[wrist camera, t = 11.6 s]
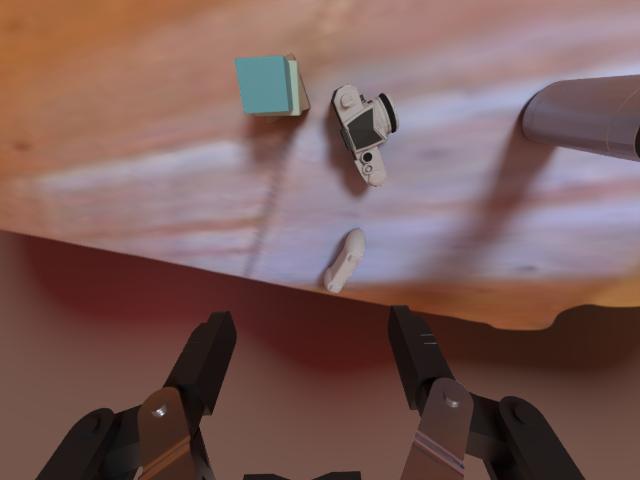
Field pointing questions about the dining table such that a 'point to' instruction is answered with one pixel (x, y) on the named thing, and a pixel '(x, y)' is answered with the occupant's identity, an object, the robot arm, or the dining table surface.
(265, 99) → the teal block
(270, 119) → the walnut base block
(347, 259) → the game controller
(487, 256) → the dining table surface
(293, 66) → the sage block
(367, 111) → the camera
